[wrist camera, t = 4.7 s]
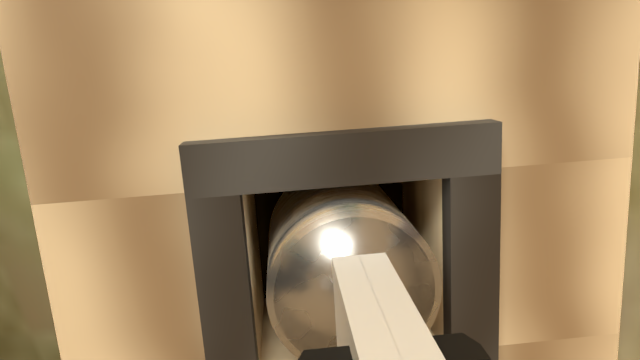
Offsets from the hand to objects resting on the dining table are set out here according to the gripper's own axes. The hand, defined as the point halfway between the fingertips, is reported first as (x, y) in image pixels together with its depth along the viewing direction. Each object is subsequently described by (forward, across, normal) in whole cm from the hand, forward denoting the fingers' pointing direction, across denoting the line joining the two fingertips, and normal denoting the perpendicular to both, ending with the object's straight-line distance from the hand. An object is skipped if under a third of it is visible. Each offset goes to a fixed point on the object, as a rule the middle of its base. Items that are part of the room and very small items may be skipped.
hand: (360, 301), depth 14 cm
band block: (+7, 0, 0) cm, 7 cm away
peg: (+6, 0, 0) cm, 6 cm away
